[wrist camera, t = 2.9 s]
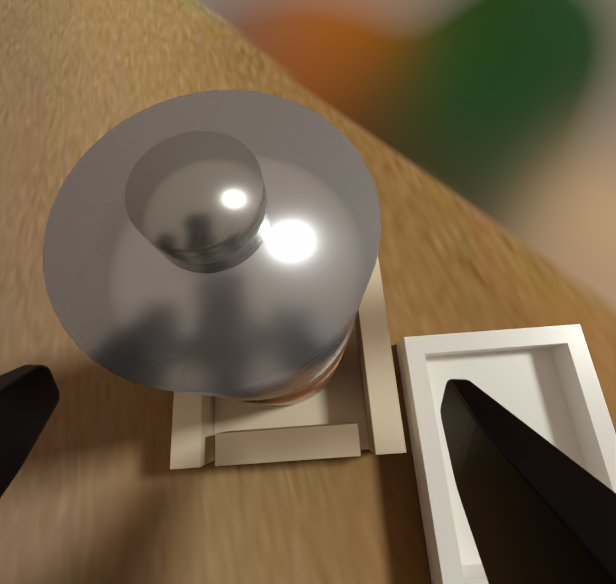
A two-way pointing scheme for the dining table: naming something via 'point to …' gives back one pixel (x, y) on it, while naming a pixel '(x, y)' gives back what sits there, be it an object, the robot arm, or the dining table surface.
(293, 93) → the dining table surface
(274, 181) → the battery cell
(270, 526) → the dining table surface
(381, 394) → the tray
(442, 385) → the tray
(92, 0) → the dining table surface
